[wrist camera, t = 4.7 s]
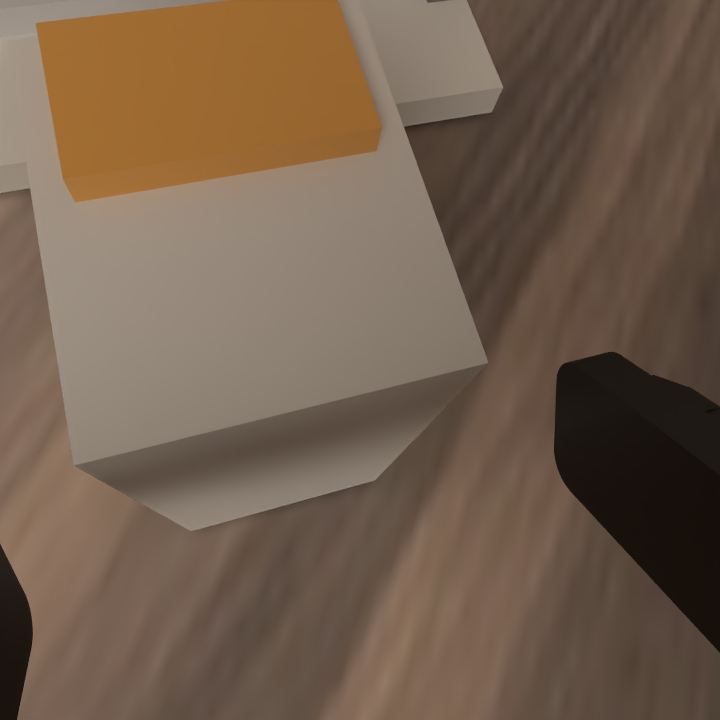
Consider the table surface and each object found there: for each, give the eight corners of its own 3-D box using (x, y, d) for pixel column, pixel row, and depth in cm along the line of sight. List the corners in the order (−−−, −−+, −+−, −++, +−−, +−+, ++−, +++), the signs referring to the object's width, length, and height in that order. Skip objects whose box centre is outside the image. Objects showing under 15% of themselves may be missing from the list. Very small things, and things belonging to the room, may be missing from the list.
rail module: (191, 531, 17) (59, 457, 7) (148, 321, 18) (-9, 9, 8) (374, 480, 18) (502, 349, 8) (318, 285, 19) (361, -33, 9)
